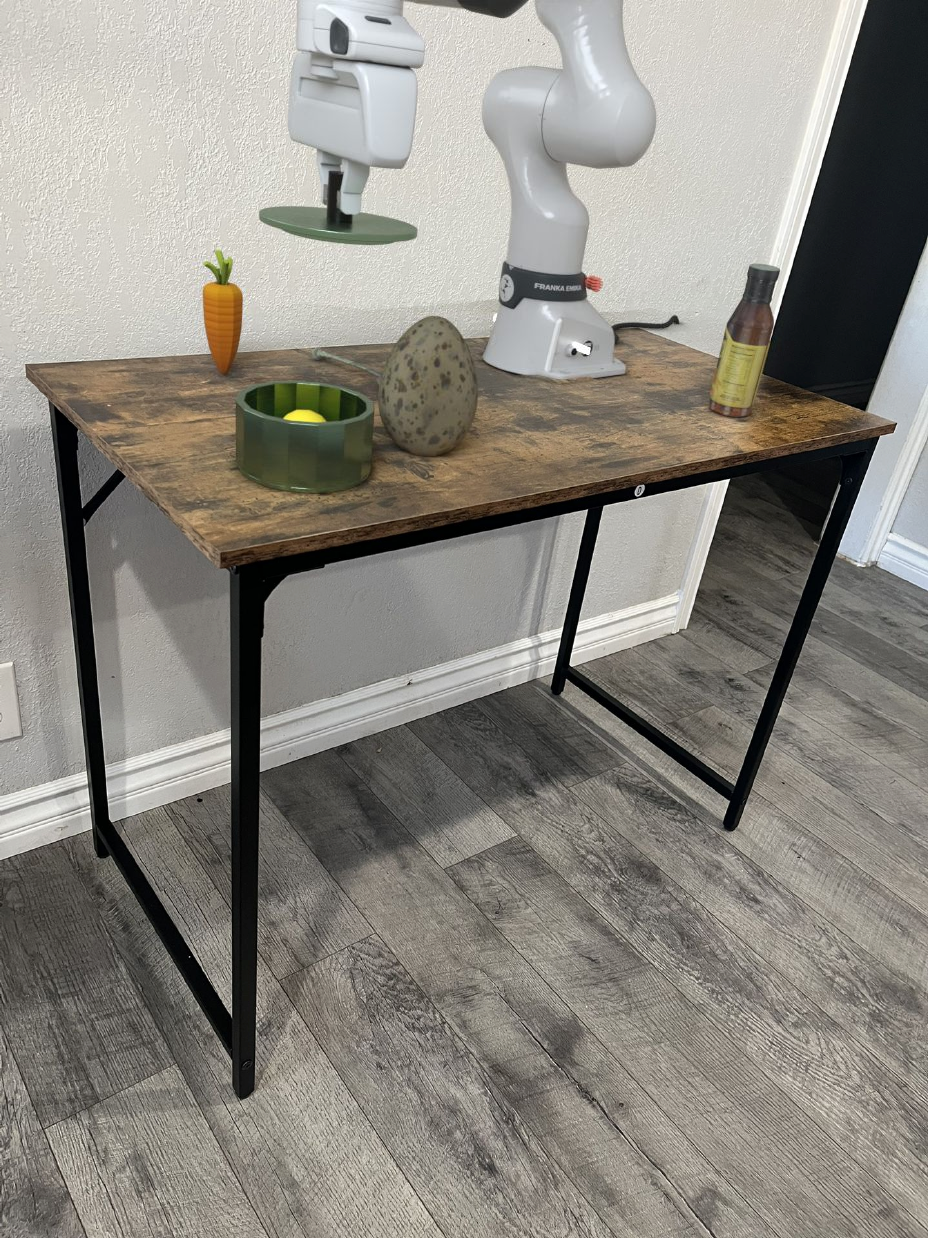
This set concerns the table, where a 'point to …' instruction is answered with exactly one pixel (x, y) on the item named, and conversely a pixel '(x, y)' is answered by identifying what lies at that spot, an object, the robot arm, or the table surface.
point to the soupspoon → (320, 354)
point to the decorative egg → (428, 388)
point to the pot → (304, 436)
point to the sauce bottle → (745, 345)
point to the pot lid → (337, 222)
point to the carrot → (222, 314)
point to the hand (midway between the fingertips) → (340, 209)
